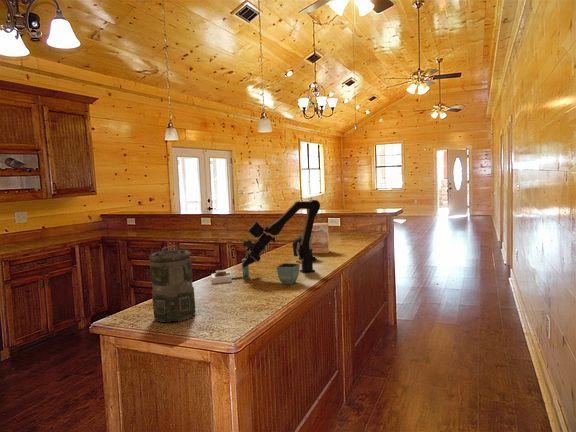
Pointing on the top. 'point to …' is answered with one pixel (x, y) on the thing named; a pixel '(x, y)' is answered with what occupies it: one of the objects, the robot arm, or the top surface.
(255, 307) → the top surface
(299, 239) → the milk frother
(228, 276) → the lane
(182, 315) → the canister
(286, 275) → the flower pot
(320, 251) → the coffeecake box
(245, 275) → the tethered block
